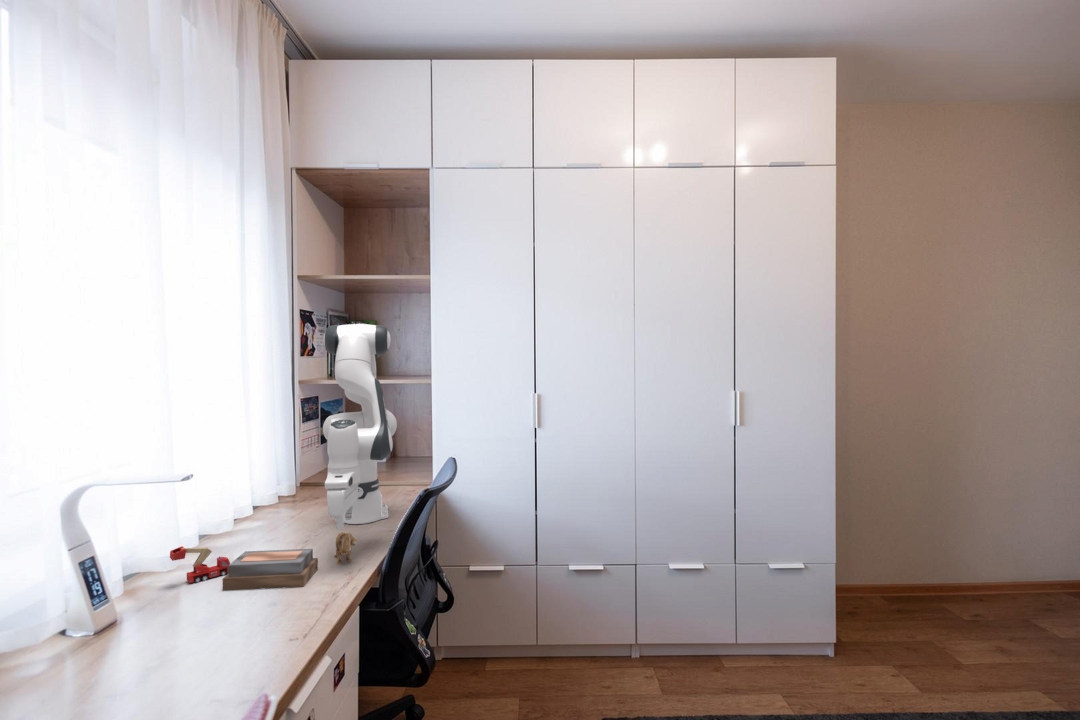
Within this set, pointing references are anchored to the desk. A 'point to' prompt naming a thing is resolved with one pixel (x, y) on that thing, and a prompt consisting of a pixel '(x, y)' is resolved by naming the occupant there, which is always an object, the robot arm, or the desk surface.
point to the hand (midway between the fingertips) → (344, 523)
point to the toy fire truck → (201, 569)
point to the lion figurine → (344, 546)
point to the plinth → (271, 580)
